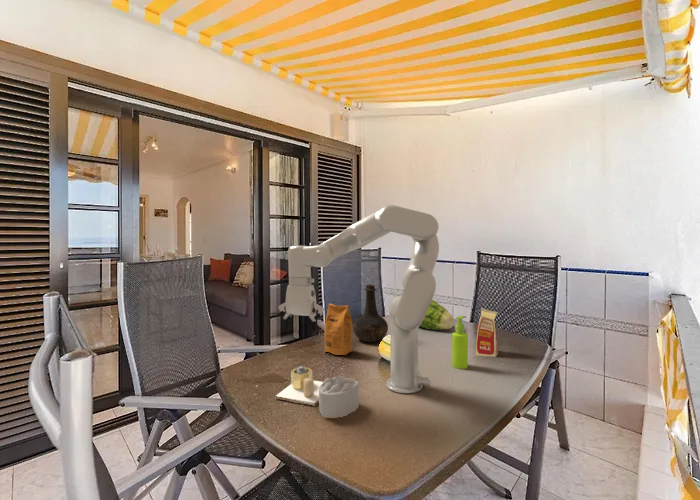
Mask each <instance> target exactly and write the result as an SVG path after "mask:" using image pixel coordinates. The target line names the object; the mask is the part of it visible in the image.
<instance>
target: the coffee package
mask: <svg viewBox="0 0 700 500" xmlns="http://www.w3.org/2000/svg"><path fill="white" fill-rule="evenodd" d="M323 331H324V333H323V334H324V335H323V341H324V346H323V347H324V352H325V351H326V352H330V353H332V354H336V355H345V356H346V355H347V354H349V353H351V352H352V351H353V340H352V339H353V319H352V316H351V313H350V306H349V305H335V304H333V303H329V304H328V307H327V312H326V317H325V321H324V330H323ZM330 353H329V354H330ZM332 354H331V355H332Z"/></svg>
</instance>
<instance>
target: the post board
mask: <svg viewBox="0 0 700 500" xmlns="http://www.w3.org/2000/svg"><path fill="white" fill-rule="evenodd" d="M304 367H305V366H304V365H303V366H301V365H300V366H298V367H297V368H298V369H297V374H304V373H306V369H305V368H304ZM323 382H324V381H319V380H314V378H313V377H312V378H306V379H304V389H303V390H298V389H293V387H292V386H291V384H289V385H288V386H287V387H285V388H284V389H283V390H282V391H280V392H279V393H277V394H276V395H275V397H276V396H277V397H282V398H287V399H291V400H296V401H300V402H304V403H309V404H315V403H316V402H317V401H318V400H319V388H320V385H321V384H322V383H323Z"/></svg>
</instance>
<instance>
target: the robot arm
mask: <svg viewBox="0 0 700 500" xmlns="http://www.w3.org/2000/svg"><path fill="white" fill-rule="evenodd" d="M438 231H439V223H438V220H437V219H436V217H435V216H433V215H432V214H430V213H426V212H422V211H419V210H414V209H411V208H407V207H403V206H399V205H395V204H393V205H392V204H389V205H386V206H383V207H382V208H380V209H378V210H377V211H375V212H373V213H371V214H370V215H368V216H365V217H363V218H362V219H360V220H358V221H357V222H355V223H353V224H351V225H349V226H348V227H346V229H344V230H343V231H341V232H340V233H338V234H337V235H334V236H333V237H331V238H329V239H327V240H326V241H324V242H322V243H319V244H317V245H313V246H311V245H310V246H307V245H291V246H290V247H288V250H287V251H288V252H287V253H288V254H287V255H288V256H287V257H288V285H287V287H286V292H285V301H284V302H283V303H281V304H280V305H278V306H277V307H278V309H279V310H278V311H280V315H281V316H282V318H283V320H284V327H285V331H287V332H289V331H291V330H292V329H293V317H292V316H304V317H306V316H308V317H309V319H310V320H311V321H310V333H311V334H314V333H317V331H318V320H319V319H320V318H321V317H322V315H323V313H324V311H325V308H324V307H323V306H322V305H321V304H318V303H317V296H316V290H315V287H314V285H313V284H314V283H315V278H312V270H311V269H312V267H316V268H325V267H327V266H328V265H330V263H331V262H333V261H335V260H336V259H338V258H340V257H342V256H344V255H345V254H349V253H351V252H352V251H355V250H359V249H361V248H363V247H366V246H368V245H369V244H371V243H373V242H375V241H376V240H378V239H381V238H382V237H384V236H386V235H388V234H389V233H391V232H392V233H396V234H400V235H403V236H406V237H411V238H412V240H413V251H412V255H411V257H410V259H409V262H408V265H407V268H406V270H405V272H404V274H403V277H402V280H401V281H402V287H403V288H404V289H403V292H402V293H401V295H398V296H396V297H395V298H393V299H392V300H391V302H390V305H389V308H388V309H389V310H388V313H389V315H388V317H389V326H390V327H389V329H390V333H389V335H390V378H388V379H387V380H386V382H385V383H386V387H387V388H388V389H389V390H390V391H393V392H396V393H398V394H414V393H418V392H420V391H421V390H423V387H424V386H430V387H431V385H432V380H431V379H430V378H429V377H428V376H423V375H421V371H419V327H420V325H421V323H422V322H423V320H424V318H425V316H426V313H427V311H428V308H429V306H430V303H431V301H432V300H433V299H434V296H435V292H436V290H437V289H436V286H437V282H436V279H435V276H434V274H433V271H434V268H435V266H436V263H437V260H438V256H439V252H440V242H439V239H438V235H437V234H438ZM312 283H313V284H312ZM317 311H318V312H317Z"/></svg>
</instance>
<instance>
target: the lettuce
mask: <svg viewBox="0 0 700 500" xmlns="http://www.w3.org/2000/svg"><path fill="white" fill-rule="evenodd" d="M454 324H455V319H454V317H453V315H452V314H451V313H450V312H449V311H448V310H447V308H446V307H444V306H443V305H442V304H441V305H440V304H439V303H438V302H437V301H435V300H433V299H432V301H431V303H430V306H429V308H428V311H427V313H426V316H425V318H424V320H423V322H422V323H421V325H420V326H419V327H420V328H424V329H429V330H434V331H441V330H448V329H451V328H453V326H454Z"/></svg>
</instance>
